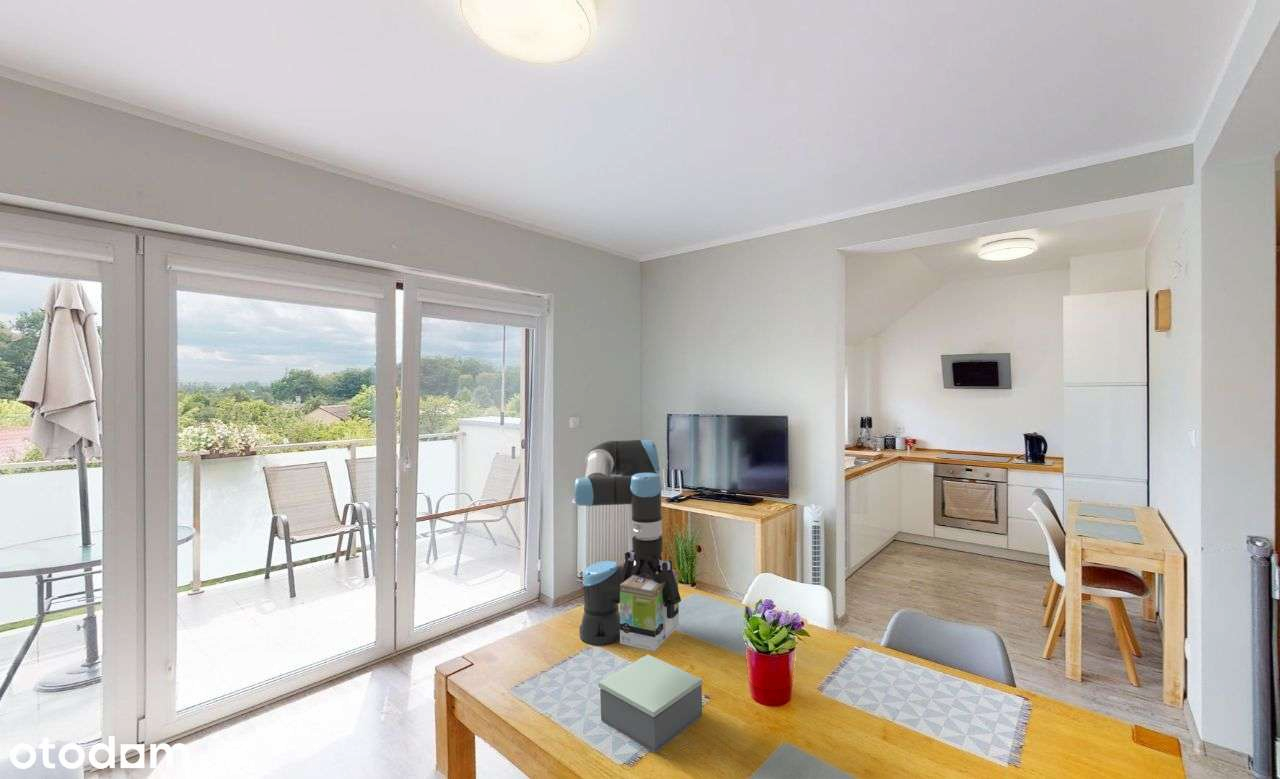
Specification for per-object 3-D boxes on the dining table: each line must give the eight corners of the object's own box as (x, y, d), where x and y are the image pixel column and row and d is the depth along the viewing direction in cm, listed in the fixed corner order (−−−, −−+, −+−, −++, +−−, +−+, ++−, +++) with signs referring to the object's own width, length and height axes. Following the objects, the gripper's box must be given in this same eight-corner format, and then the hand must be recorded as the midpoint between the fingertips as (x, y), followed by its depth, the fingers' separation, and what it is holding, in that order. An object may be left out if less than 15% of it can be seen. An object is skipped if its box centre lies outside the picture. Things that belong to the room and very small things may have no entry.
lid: (647, 658, 145) (647, 654, 145) (702, 683, 132) (702, 678, 132) (598, 686, 131) (598, 682, 131) (653, 717, 119) (653, 712, 119)
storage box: (649, 688, 145) (648, 659, 144) (702, 715, 132) (701, 684, 132) (601, 720, 131) (600, 688, 131) (655, 753, 119) (654, 718, 119)
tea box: (657, 653, 123) (655, 590, 123) (619, 644, 127) (617, 584, 127) (680, 625, 137) (678, 568, 136) (645, 618, 141) (643, 564, 141)
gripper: (603, 531, 137) (605, 614, 137) (674, 549, 120) (676, 643, 121) (624, 525, 142) (626, 605, 142) (694, 541, 126) (696, 631, 126)
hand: (649, 623), depth 131 cm, fingers closed on tea box, 11 cm apart
